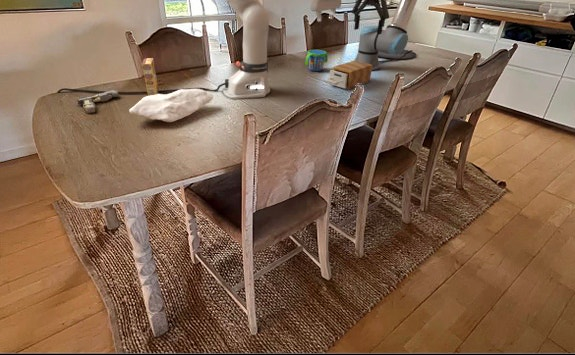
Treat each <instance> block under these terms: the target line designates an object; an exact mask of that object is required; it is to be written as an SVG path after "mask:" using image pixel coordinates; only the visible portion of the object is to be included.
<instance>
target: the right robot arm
mask: <svg viewBox="0 0 575 355" xmlns="http://www.w3.org/2000/svg"><path fill="white" fill-rule="evenodd" d="M417 2H418V0H399V2H398V4H397V7H396V9H395V12H394V15H393V17H392V21H391V22H390V23H389V24H388V25H386V28H385V29H383V28H384V27H385V24H386V23H385V22H386V20H388V19H390V14H389V8H388V4H387V0H364V1H363V0H356V2H355V4H354V6H353V8H352V9H351V14H353V15H354V18H353V22H354V28H353V30H354V31H356V30H359V29H360V20H361V15H360V14H361V12H363V10H364V9H365V8H366V7H367V6H372V7H375V8H374V9H375V10H376V12H377V14H378V16H379V18H380V19H378V23H377V25H367V26H363V27H361V29H360V34H359V41H358V50H357V54H356V56H355V58H354V60H353V61H359V62H363V63H367V64H371V65H372V71H376V70H377V71H378V69H379V68H380V64H381V63H387V62H395V61H399V60H400V59H399V58H397V59H395V58H391V59H386V60H385V59H384V60H379V56H378V51H379V52H383V53H388V54H391V55H392V54H393V55H398V54H400V53H401V52H402V51H403V50H406V47H407V44H408V41H409V35H408V30H407V27H408V25H409V21H410V19H411V17H412V14H413V12H414V10H415V7H416V4H417ZM409 52H414V51H413V49H411V50H408V52H406V53H405V54H404V55H403V56H402V57H404V56H405V55H406V54H407V53H409ZM402 57H400V58H402Z"/></svg>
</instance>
